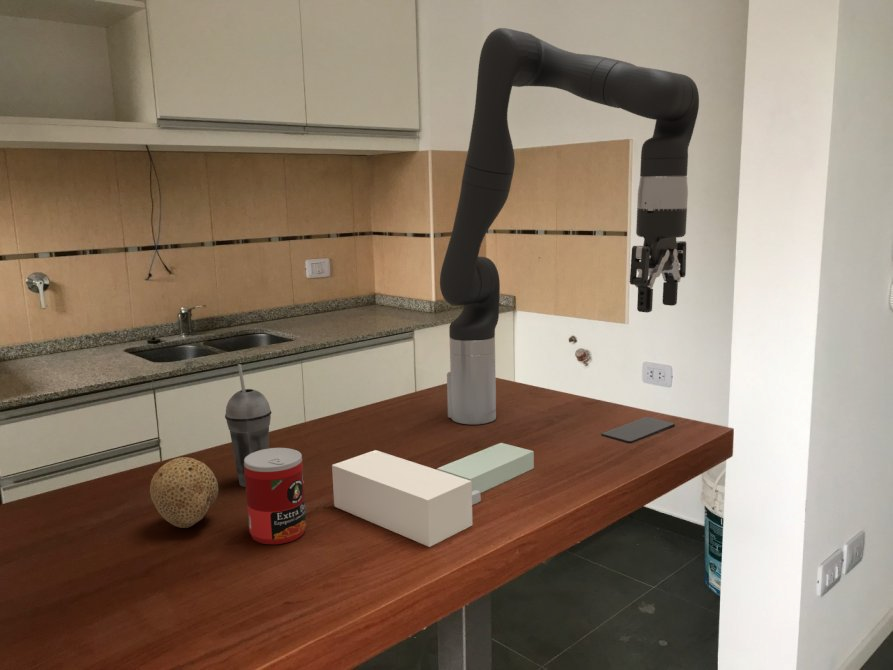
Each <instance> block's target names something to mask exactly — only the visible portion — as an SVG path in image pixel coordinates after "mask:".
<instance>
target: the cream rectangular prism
mask: <svg viewBox="0 0 893 670" xmlns="http://www.w3.org/2000/svg"><path fill="white" fill-rule="evenodd" d="M331 469H332V471H331V473H332V487H333V488H332V490H333V504H334V505H333V507H334V508H337V509H340V510H342V511H344V512H347V513H349V514H352V515H353V516H355V517H359V518H360V519H363V520H365V521H368V522H370V523H372V524H375V525H377V526H379V527H382V528H384V529H387V531H392V532H393V533H396V534H397V535H398V534H399V535H401V536H403V537H406V538H407V539H410V540H413V541H415V542H417V543H418V544H421V545H424V546H425V547H428V548H431V547H433V546H434V545H436V544H437V545H438V544H439V543H441V542H442V541H444V540H446V539H448V538H450V537H452V536H454V535H456V534H458V533H460V532H461V531H462V532H463V531H464V530H466V529H468V528H470V527H471V526H473V505H476V504H478V503H479V502H481V495H482V494H481V492H480V491H477V490H475V491H472V481H470V480H467V479H464V478H461V477H457V476H454V475H451V474H448V473H445V472H442V471H439V470H437V468H436V469H435V468H432V467H430V466H426V465H423V464H420V463H417V462H415V461H410V460H407V459H404V458H402V457H398V456H396V455H392V454H389V453H386V452H383V451H380V450H376V449H374V450H373V451H368V452H366V453H363V454H360V455H357V456H354V457H351V458H348V459H346V460H343V461H340V462H337V463H333V464H331Z"/></svg>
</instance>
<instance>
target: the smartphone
mask: <svg viewBox="0 0 893 670" xmlns="http://www.w3.org/2000/svg"><path fill="white" fill-rule="evenodd" d="M675 426H676V424H675V423H674V422H671V421H668V420H663V419H658V418H654V417H651V416H644V417H641V418H638V419H636V420H634V421H630V422H629V423H625V424H623V425H620V426H617V427H615V428H612V429H610V430H606V431H604V432H602V433H600V435H601V436H602V437H605V438H607V439H610V440H611V439H612V440H616V441H619V442H623V443H625V444H633V443H637V442H638V441H639V442H640V441H641V440H644V439H646V438H649V437H651V436H654V435H656V434H660V433H662V432H665V431H667V430H670V429H672V428H674V427H675Z"/></svg>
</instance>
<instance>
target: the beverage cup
mask: <svg viewBox="0 0 893 670" xmlns="http://www.w3.org/2000/svg"><path fill="white" fill-rule="evenodd" d="M237 367H238V368H237V369H238V376H239V380H240V381H239V383H240V387H241V389H240V390H239V391H236V393H234V394H233V395H232V396H230V399H229V400H228V401H227V404H226V407H225V414H224V418H225V420H226V424H227V427H228V430H229V434H230V439H231V446H232V451H233V456H234V457H233V458H234V463H235V468H236V474H237V477H238V481H239V482H238V483H239V485H240V486H241V487H243V488H246V485H245V471H244V459H245V457H246V456H248V455H249V454H251V453H253V452H256V451H259V450H263V449H269V448H270V447H269V446H270V425H271V419H272V418H271V416H272V410H271V407H270V403H269V401H268V399H267V398H266V396H265V395H264V394H263V393H262V392H261V391H258V390H256V389H252V388H246V386H245V385H246V384H245V381H244V375H243V368H242V367H243V366H242V364H240V363H239V364H237Z"/></svg>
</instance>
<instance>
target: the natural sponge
mask: <svg viewBox="0 0 893 670" xmlns="http://www.w3.org/2000/svg"><path fill="white" fill-rule="evenodd" d="M149 494H150V499H151V501H152V503H153V505H154V506H155V509H156V511H157V512H158V514H160V516H161V517H162V518H163V519H164V520H165V521H166V522H168V523H169V524H171V525H172V526H174V527H177V528H180V529H189V528H190V527H193V526H195V525H196V524H197V523H199V521H201V520H203V518H204V517H205V516H206V515H207V513H208V511H209V509H210V507H211V506H212V505H213V504H214V503H215V502H216V500H217V498H218V495H219V483H218V479H217V478H216V476H215V474H214V472H213V470H211V469H210V467H209V466H208V465H207V464H206V463H204V462H203V461H200V460H198V459H196V458H194V457H193V458H192V457H188V456H187V457H185V456H184V457H183V456H182V457H176V458H173V459H171V460H169V461H167V462H166V463H164V464H163V465H162V466H161V467H160V468H158V470H157V471H156V472H155V473H154V474H153V475H152V479H151V480H150V485H149Z"/></svg>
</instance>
